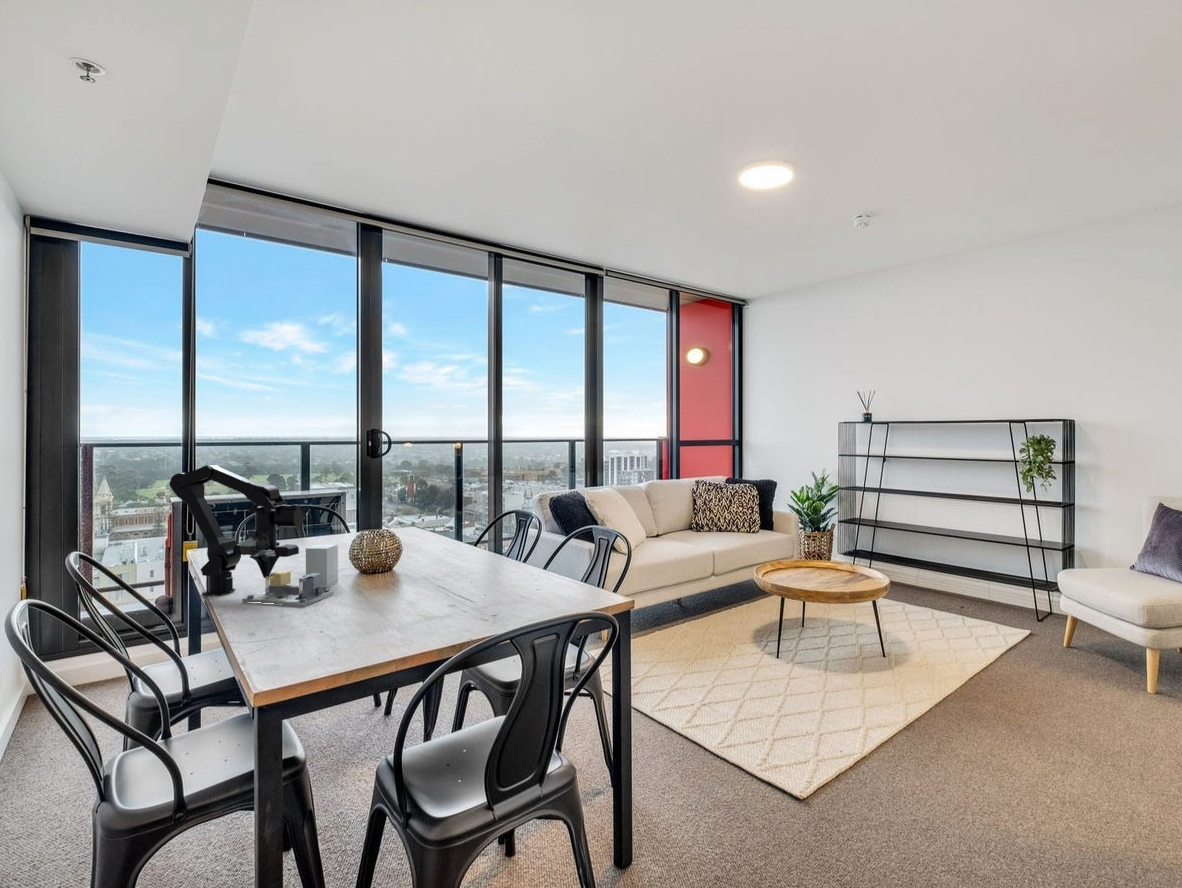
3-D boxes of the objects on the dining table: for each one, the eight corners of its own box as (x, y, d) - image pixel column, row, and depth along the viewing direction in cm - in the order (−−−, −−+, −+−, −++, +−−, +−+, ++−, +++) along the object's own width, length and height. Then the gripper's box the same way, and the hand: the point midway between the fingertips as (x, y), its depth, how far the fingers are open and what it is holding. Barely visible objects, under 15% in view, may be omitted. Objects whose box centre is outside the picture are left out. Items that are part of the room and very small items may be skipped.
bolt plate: (242, 602, 174) (242, 578, 174) (276, 590, 188) (276, 568, 188) (304, 607, 171) (304, 582, 171) (334, 594, 184) (334, 571, 184)
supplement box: (338, 582, 200) (338, 544, 200) (326, 588, 192) (326, 548, 192) (317, 581, 200) (317, 543, 200) (304, 587, 193) (304, 547, 193)
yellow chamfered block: (260, 594, 177) (260, 576, 177) (280, 588, 185) (280, 570, 185) (271, 595, 177) (271, 577, 177) (290, 588, 185) (290, 571, 185)
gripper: (218, 529, 178) (218, 582, 178) (274, 531, 175) (274, 585, 175) (246, 524, 189) (246, 574, 189) (299, 526, 186) (300, 577, 186)
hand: (266, 577), depth 185 cm, fingers closed
